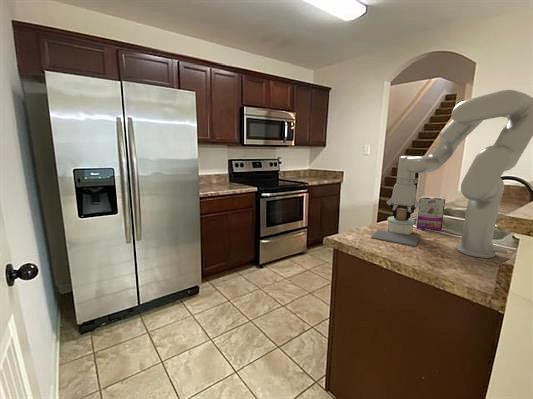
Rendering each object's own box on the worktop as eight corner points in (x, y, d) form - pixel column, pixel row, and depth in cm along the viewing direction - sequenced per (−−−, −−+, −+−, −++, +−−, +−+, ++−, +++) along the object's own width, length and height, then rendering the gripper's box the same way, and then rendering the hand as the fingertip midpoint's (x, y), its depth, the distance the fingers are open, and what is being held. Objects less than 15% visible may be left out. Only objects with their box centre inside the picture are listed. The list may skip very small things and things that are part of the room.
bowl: (413, 230, 133) (414, 220, 132) (410, 236, 125) (411, 226, 124) (390, 226, 140) (391, 217, 138) (385, 231, 131) (386, 222, 130)
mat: (419, 238, 122) (419, 236, 122) (415, 246, 112) (415, 245, 112) (377, 230, 132) (377, 229, 132) (371, 238, 122) (371, 236, 122)
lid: (416, 220, 133) (417, 209, 131) (413, 226, 123) (414, 214, 122) (390, 216, 139) (391, 205, 138) (385, 222, 130) (386, 210, 128)
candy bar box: (439, 228, 137) (443, 197, 134) (441, 231, 132) (446, 198, 129) (414, 225, 141) (418, 195, 138) (416, 228, 137) (419, 197, 133)
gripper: (426, 182, 125) (421, 219, 129) (387, 179, 135) (384, 214, 139) (425, 184, 119) (420, 223, 123) (384, 181, 129) (381, 217, 133)
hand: (401, 218), depth 131 cm, fingers closed on lid, 5 cm apart
